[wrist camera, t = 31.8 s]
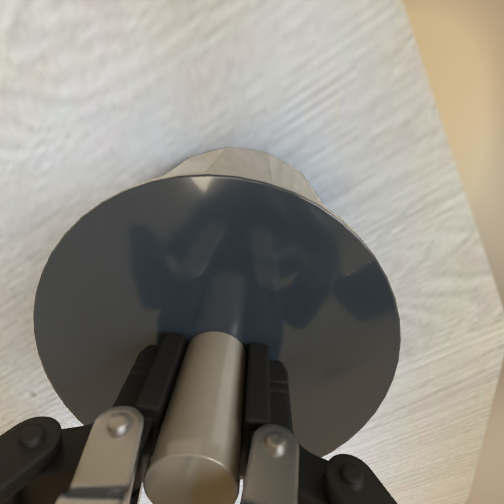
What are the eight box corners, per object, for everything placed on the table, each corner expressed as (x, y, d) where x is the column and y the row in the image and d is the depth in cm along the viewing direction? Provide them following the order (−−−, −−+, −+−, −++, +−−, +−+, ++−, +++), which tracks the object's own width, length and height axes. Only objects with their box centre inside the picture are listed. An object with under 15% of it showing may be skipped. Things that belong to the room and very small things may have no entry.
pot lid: (439, 197, 12) (598, 281, 6) (345, 471, 17) (386, 653, 12) (34, 141, 12) (-185, 174, 6) (63, 437, 17) (-40, 606, 11)
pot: (346, 162, 23) (408, 205, 13) (308, 327, 27) (332, 448, 18) (148, 134, 22) (60, 156, 13) (145, 306, 27) (79, 418, 17)
